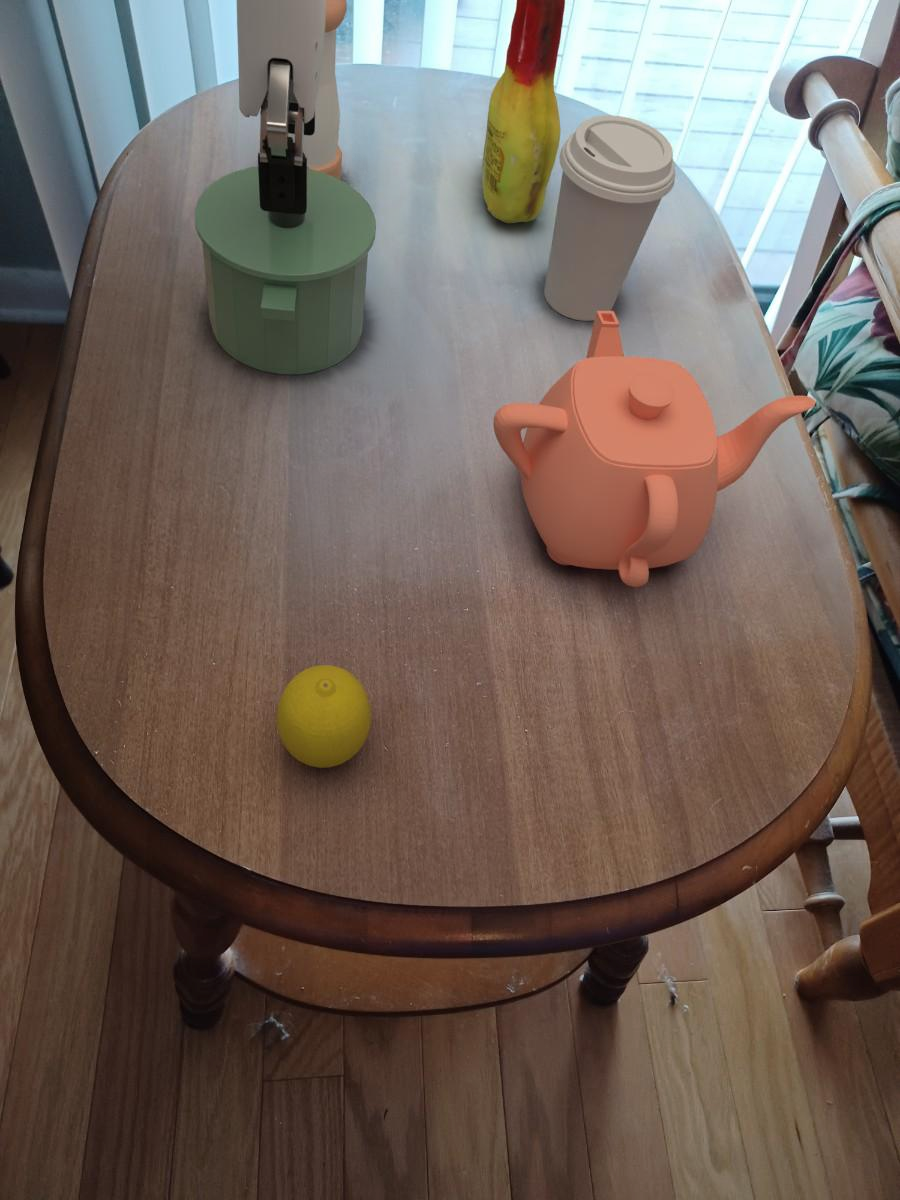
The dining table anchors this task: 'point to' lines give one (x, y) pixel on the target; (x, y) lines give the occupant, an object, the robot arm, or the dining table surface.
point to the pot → (285, 317)
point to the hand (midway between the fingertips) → (288, 169)
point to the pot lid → (285, 228)
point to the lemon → (323, 716)
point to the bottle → (524, 115)
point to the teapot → (627, 458)
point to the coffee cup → (604, 210)
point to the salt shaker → (327, 102)
